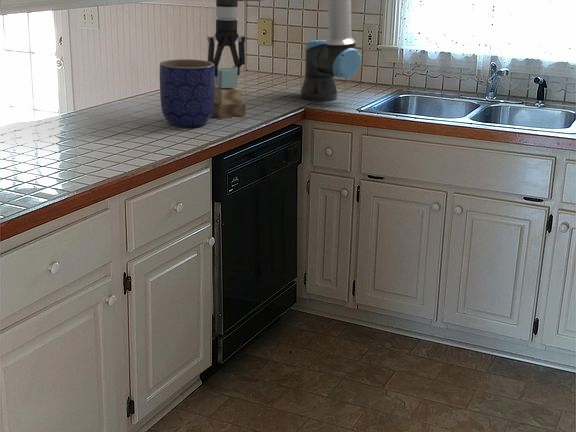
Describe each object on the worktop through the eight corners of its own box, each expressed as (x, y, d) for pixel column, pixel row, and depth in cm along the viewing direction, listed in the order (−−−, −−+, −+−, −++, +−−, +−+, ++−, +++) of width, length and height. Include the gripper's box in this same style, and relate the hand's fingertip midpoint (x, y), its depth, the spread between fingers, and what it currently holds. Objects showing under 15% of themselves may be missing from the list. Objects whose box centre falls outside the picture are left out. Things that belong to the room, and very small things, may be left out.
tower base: (233, 112, 300) (233, 98, 298) (244, 117, 292) (244, 103, 290) (208, 114, 296) (208, 100, 294) (218, 119, 287) (218, 105, 286)
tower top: (232, 99, 297) (232, 85, 295) (241, 103, 291) (242, 89, 289) (212, 100, 293) (212, 87, 292) (221, 105, 287) (221, 91, 285)
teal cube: (230, 84, 294) (230, 67, 292) (237, 87, 289) (237, 70, 287) (215, 85, 291) (215, 68, 289) (221, 88, 286) (221, 71, 284)
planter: (200, 132, 267) (199, 69, 260) (150, 126, 273) (149, 64, 266) (223, 121, 284) (223, 61, 277) (176, 116, 289) (175, 57, 283)
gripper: (247, 17, 290) (246, 82, 297) (197, 18, 282) (197, 84, 289) (256, 19, 284) (254, 85, 291) (205, 20, 275) (205, 88, 283)
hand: (226, 85), depth 290 cm, fingers closed on teal cube, 6 cm apart
